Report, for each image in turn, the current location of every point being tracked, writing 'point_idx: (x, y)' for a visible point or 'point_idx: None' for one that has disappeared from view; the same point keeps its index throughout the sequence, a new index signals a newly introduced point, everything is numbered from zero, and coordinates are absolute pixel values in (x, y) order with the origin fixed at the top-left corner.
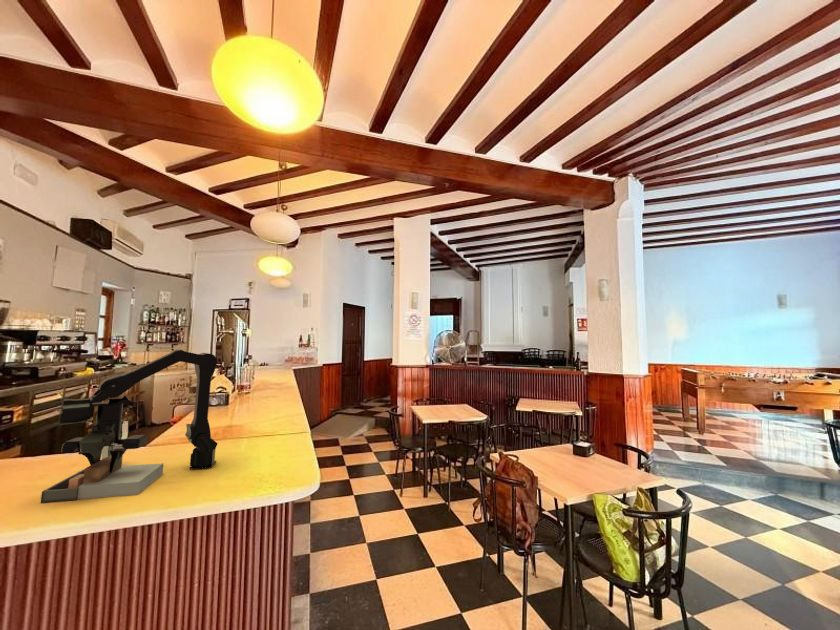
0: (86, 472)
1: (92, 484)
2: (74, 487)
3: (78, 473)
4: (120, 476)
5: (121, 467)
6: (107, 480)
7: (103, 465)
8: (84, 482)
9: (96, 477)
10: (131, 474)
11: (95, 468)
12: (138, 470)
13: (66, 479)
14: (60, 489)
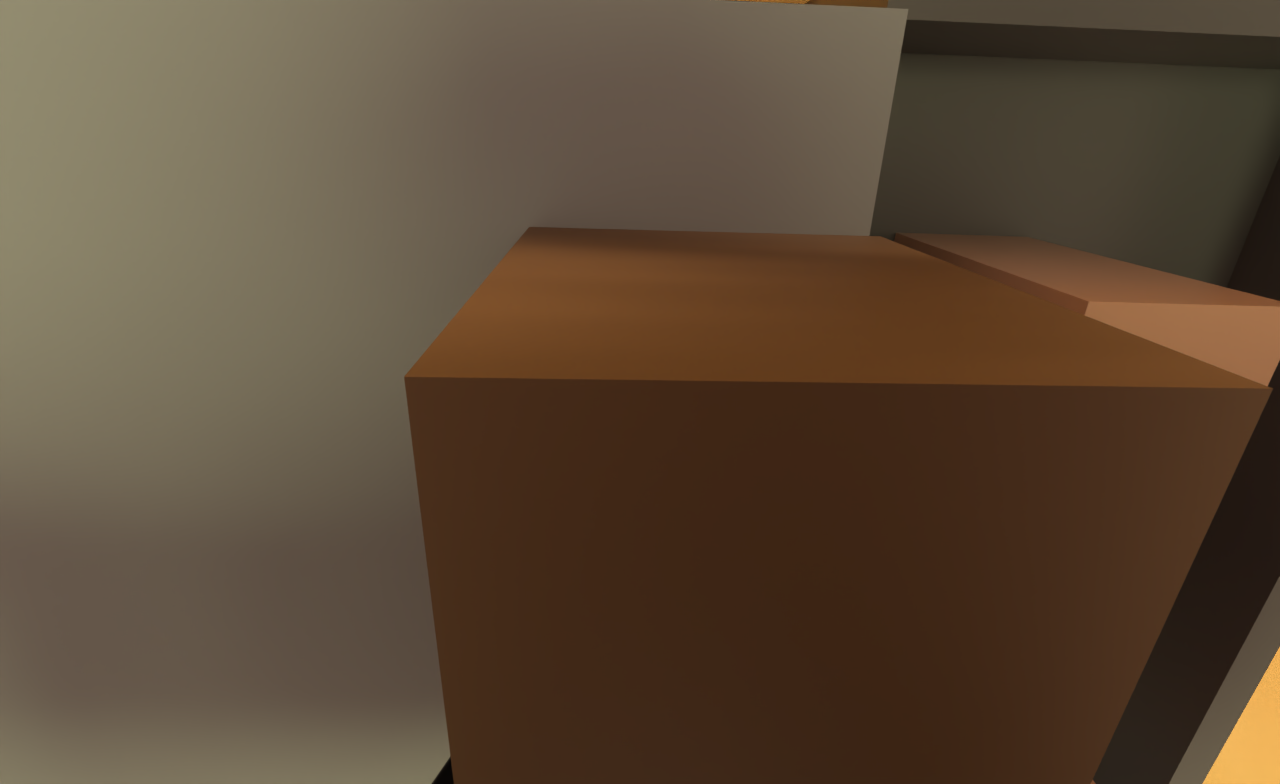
0: (1002, 320)
1: (590, 64)
2: (1007, 258)
3: None
4: (229, 516)
5: None
6: (366, 308)
7: (462, 703)
8: (862, 241)
9: (583, 254)
10: (64, 595)
11: (672, 370)
12: (111, 774)
13: (1264, 613)
14: (1278, 17)
